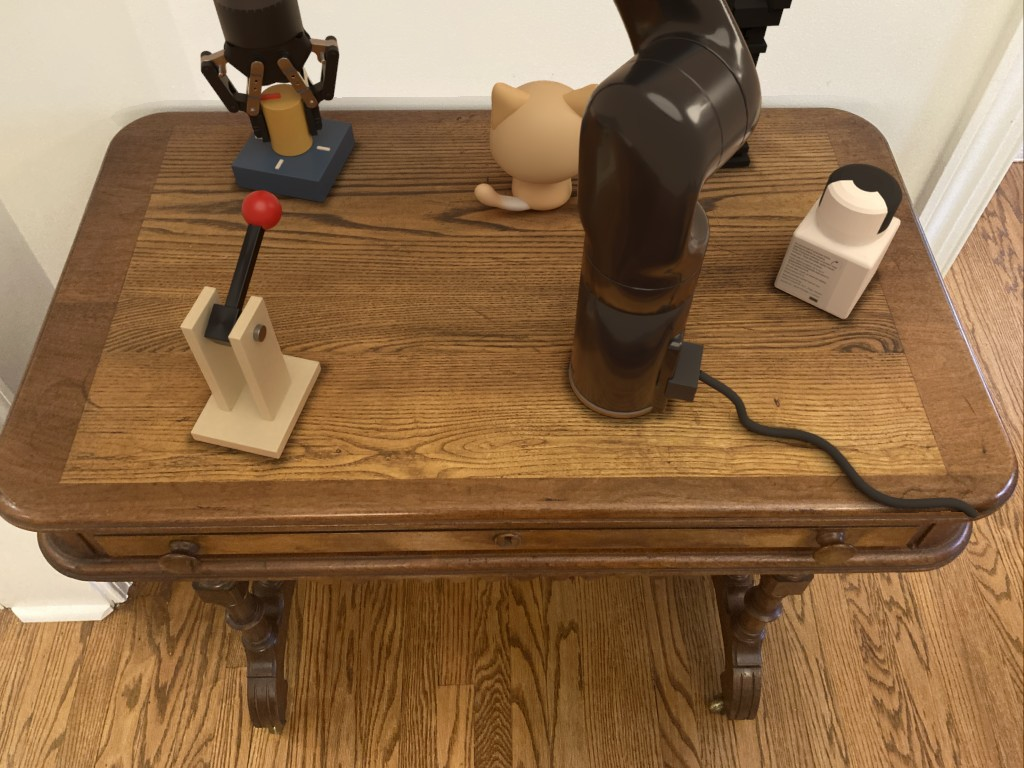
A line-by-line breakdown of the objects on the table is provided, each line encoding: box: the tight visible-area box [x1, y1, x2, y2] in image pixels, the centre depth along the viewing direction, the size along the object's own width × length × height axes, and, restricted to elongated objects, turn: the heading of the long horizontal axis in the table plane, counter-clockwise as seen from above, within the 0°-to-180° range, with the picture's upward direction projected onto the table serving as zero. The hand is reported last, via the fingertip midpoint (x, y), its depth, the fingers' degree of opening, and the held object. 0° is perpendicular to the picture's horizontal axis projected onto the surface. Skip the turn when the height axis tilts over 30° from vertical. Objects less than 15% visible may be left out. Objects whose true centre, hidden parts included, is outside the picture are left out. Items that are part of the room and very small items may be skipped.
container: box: [774, 163, 903, 320], centre depth 81 cm, size 8×8×13 cm
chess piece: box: [720, 0, 793, 169], centre depth 90 cm, size 8×8×20 cm
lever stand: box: [179, 285, 322, 460], centre depth 72 cm, size 10×8×13 cm
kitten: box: [474, 79, 599, 212], centre depth 87 cm, size 15×10×15 cm, turn 89°
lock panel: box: [230, 117, 356, 203], centre depth 95 cm, size 10×10×3 cm
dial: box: [260, 83, 313, 156], centre depth 91 cm, size 4×4×6 cm
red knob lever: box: [204, 190, 283, 347], centre depth 69 cm, size 13×3×3 cm, turn 166°
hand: (290, 133), depth 92 cm, fingers closed on dial, 4 cm apart
